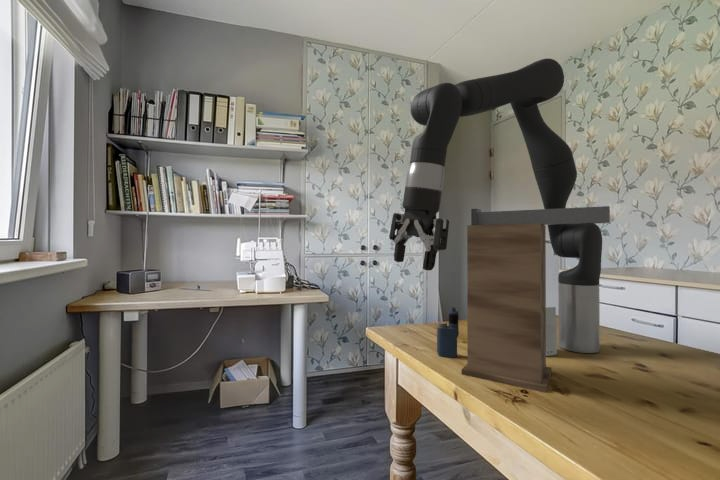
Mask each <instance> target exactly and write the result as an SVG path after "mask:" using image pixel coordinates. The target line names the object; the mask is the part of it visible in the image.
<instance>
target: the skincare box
mask: <svg viewBox="0 0 720 480" xmlns="http://www.w3.org/2000/svg"><path fill="white" fill-rule="evenodd" d="M556 314H557V313H556V306H551V305H546V357H551V356H555V355H557V354H558V342H557V341H558V336H557V316H556Z"/></svg>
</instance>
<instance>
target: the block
mask: <svg viewBox="0 0 720 480" xmlns="http://www.w3.org/2000/svg"><path fill="white" fill-rule="evenodd" d="M610 208H611V207H610V206H609V205H607V206H606V205H605V206H604V205H603V206H583V207H566V208H560V209H544V208H542V209H541V208H540V209H539V208H537V209H523V210H522V209H521V210H520V209H519V210H500V211H499V210H498V211H482V209H479V208H471V209H470V212H471V213H470V214H471V215H470V216H471V218H470V219H471V220H470V221H471V224H470V225H499V224H537V223H540V224H543V225H547V226H548V225H555V224H596V225H597V224H609V223H611V222H610V221H611V220H610V219H611V218H610V217H611V216H610Z"/></svg>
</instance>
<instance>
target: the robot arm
mask: <svg viewBox="0 0 720 480" xmlns="http://www.w3.org/2000/svg"><path fill="white" fill-rule="evenodd" d="M563 69H564V68H563V67H562V65H561V64H560V63H559V62H558V61H557V60H556V59H554V58H553V59H552V58H542V59H539V60H536V61H534V62H531V63H530V64H527V65H526V66H524V67H521V68H519V69H517V70H514V71H513V70H512V71H509V72H506V73H505V72H504V73H500V74H495V75H494V74H493V75H490V76H489V75H488V76H483V77H477V78H472V79H469V80H464V81H460V82H459V83H455V84H453V83H451V82H443V83H442V82H441V83H439V84H436V85H434V86H432V87H429V88H426V89H424V90H421V91H420V92H417V94H415V97H413V98H412V101H411V102H410V103H411V104H410V114H411V117H412V119H413V120H414V121H415V122H416V123H417V124H419V125H421V126H424V127H425V128H424V130H423V131H422V132H421V133H419V134H418V135H416V136H415V137H414V138H413V141H412V146H411V152H410V157H409V158H410V160H409V166H408V170H407V173H406V179H405V184H404V185H405V187H404V192H403V199H402V208H403V209H404V212H403V213H400V212H398V213H397V212H394V213H393V214H392V220H391V224H390V231H389V236H388V237H389V240H390V241H391V240H392V242H393V243H394V244H395V247H394V254H393V257H394V258H393V260H394V262H397V263H403V262H404V261H405V260H404V259H405V253H406V246H407V245H406V243H407V242H408V241H409V239H411V238H412V237H416V238H419V239H420V241H421V242H422V243H423V244H424V248H425V251H424V255H423V263H422V269H423V270H424V271H432V270H433V269H434V268H435V266H436V258H437V253H438V252H440V251H445V250H446V249H447V247H448V237H449V227H450V220H449V219H447V218H437V214H438V213H439V212H440V208H441V202H442V194H443V189H444V188H443V187H444V181H445V166H446V159H447V153H448V152H447V151H448V146H449V144H450V142H451V140H452V137H453V134H454V132H455V129H456V127H457V125H458V122H459V120H460V118H464V117H470V116H474V115H478V114H481V113H485V112H490V111H492V110H495V109H497V108H500V107H501V108H502V107H503V106H505V105H508V104H510V106H511V109H512V112H513V113H514V117H515V119H516V121H517V123H518V126H519V128H520V131H521V134H522V137H523V140H524V142H525V145H526V148H527V149H526V150H527V152H528V155H529V158H530V159H529V160H530V163H531V167H532V171H533V175H534V178H535V181H536V185H537V187H538V190H539V194H540V198H541V201H542V204H543V209H560V208H567V203H568V200H569V198H570V196H571V193H572V191H573V189H574V188H575V183H576V181H577V177H578V172H577V166H576V162H575V158H574V155H573V151H572V149H571V148H570V145H568V144H567V142H566V141H565V140H564V139H563V138H562V137H561V136H559V134H557V133H556V132H555V131H554V130H552V128H550V126H548V124H547V123H546V122H545V120H544V118H543V117H542V114H541V112H540V109H539V106H538V104H541V103H544V102H546V101H549V100H552V99H553V98H555V97H556V96H557V95H559V93H560V92H561V91H562V90H563V87H564V82H565V73H564V70H563ZM547 230H548V236H549V241H550V243H551V244H550V245H551V248H552V251H553V252H554V253H555V255H557V256H558V257H560V258H569V259H570V258H571V259H579V260H578V264H577V265H576V266H574V267H572V268H569V269H567V270H563V271H560V272H559V273H558V279H557V282H558V290H557V291H558V292H557V293H558V347H559V348H561V349H564V350H567V351H571V352H574V353H582V354H595V353H599V352H600V348H601V347H600V338H601V337H600V335H601V334H600V332H601V331H600V327H601V326H600V325H601V323H600V317H601V315H600V313H601V310H600V278H601V273H602V256H603V255H602V253H603V252H602V251H603V235H602V230H601V229H600V227H599V226H598V224H597V223H596V224H555V225H547Z"/></svg>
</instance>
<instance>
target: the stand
mask: <svg viewBox="0 0 720 480" xmlns="http://www.w3.org/2000/svg"><path fill="white" fill-rule="evenodd" d="M466 227H467V228H466V231H467V232H466V233H467V236H466V237H467V239H466V241H467V246H466V247H467V248H466V249H467V250H466V253H467V254H466V259H467V262H466V265H467V267H466V269H467V270H466V272H467V273H466V275H467V279H466V281H467V285H466V288H467V289H466V291H467V292H466V293H467V294H466V295H467V297H466V298H467V299H466V300H467V304H466V305H467V307H466V309H467V314H466V315H467V316H466V317H467V336H466V337H467V340H466V341H467V363H466V364H465V366H463V367H462V369H461V375H463V376H469V377H472V378H473V377H474V378H478V379H482V380H486V381H491V382H496V383H499V384H505V385H510V386H514V387H519V388H522V389H523V388H524V389H527V390H534V391H537V392H543V393H547V390H548V387H549V383H550V380H551V379H550V378H551V376H552V371H553V370H552V367H550V366H547V356H546V304H547V301H546V299H547V298H546V296H547V295H546V294H547V293H546V289H547V287H546V286H547V285H546V284H547V281H546V279H547V278H546V276H547V273H546V271H547V268H546V263H547V262H546V261H547V260H546V254H547V253H546V250H547V249H546V248H547V247H546V242H547V241H546V238H547V237H546V235H547V234H546V232H547V231H546V225H543V224H540V223H537V224H499V225H471V224H469V225H466Z"/></svg>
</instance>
